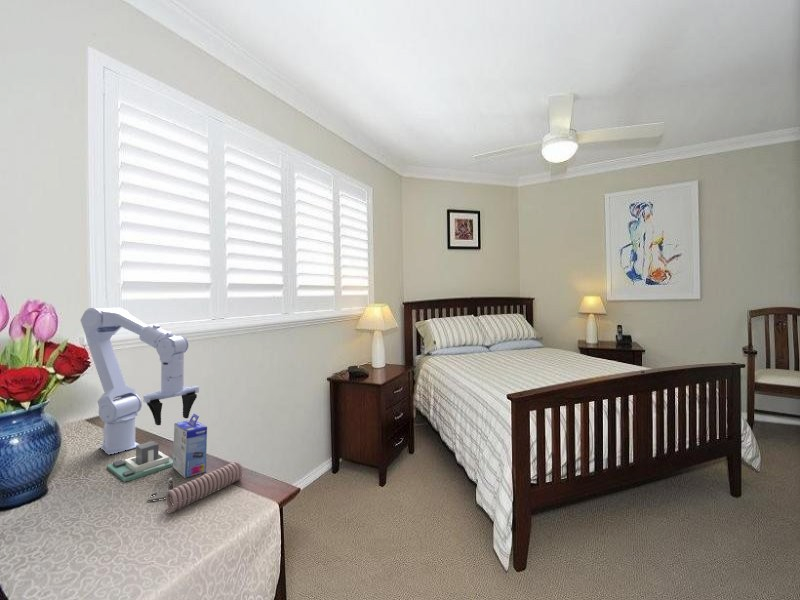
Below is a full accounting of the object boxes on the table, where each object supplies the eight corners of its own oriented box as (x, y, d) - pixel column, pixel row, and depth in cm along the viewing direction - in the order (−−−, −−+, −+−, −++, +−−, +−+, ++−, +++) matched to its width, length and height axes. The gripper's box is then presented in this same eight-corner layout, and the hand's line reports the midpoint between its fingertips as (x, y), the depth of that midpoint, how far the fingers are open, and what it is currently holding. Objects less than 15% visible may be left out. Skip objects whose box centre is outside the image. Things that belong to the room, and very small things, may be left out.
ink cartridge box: (207, 471, 96) (208, 417, 96) (185, 479, 92) (185, 422, 92) (193, 460, 103) (194, 410, 103) (172, 467, 99) (172, 414, 99)
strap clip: (146, 504, 81) (146, 485, 81) (150, 497, 84) (150, 479, 84) (189, 496, 85) (189, 478, 85) (191, 490, 87) (191, 473, 87)
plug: (135, 463, 99) (136, 445, 99) (152, 458, 102) (152, 440, 102) (142, 468, 96) (142, 449, 96) (159, 462, 100) (159, 444, 100)
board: (106, 468, 98) (107, 460, 98) (156, 453, 108) (156, 446, 108) (124, 482, 90) (124, 474, 90) (176, 464, 100) (176, 457, 100)
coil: (173, 496, 76) (246, 463, 92) (162, 488, 79) (235, 457, 94) (172, 517, 77) (245, 481, 92) (160, 509, 79) (233, 474, 95)
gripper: (150, 382, 100) (150, 430, 100) (203, 373, 112) (203, 417, 112) (140, 378, 104) (140, 425, 104) (192, 371, 116) (192, 413, 116)
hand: (172, 421), depth 108 cm, fingers open, 7 cm apart
